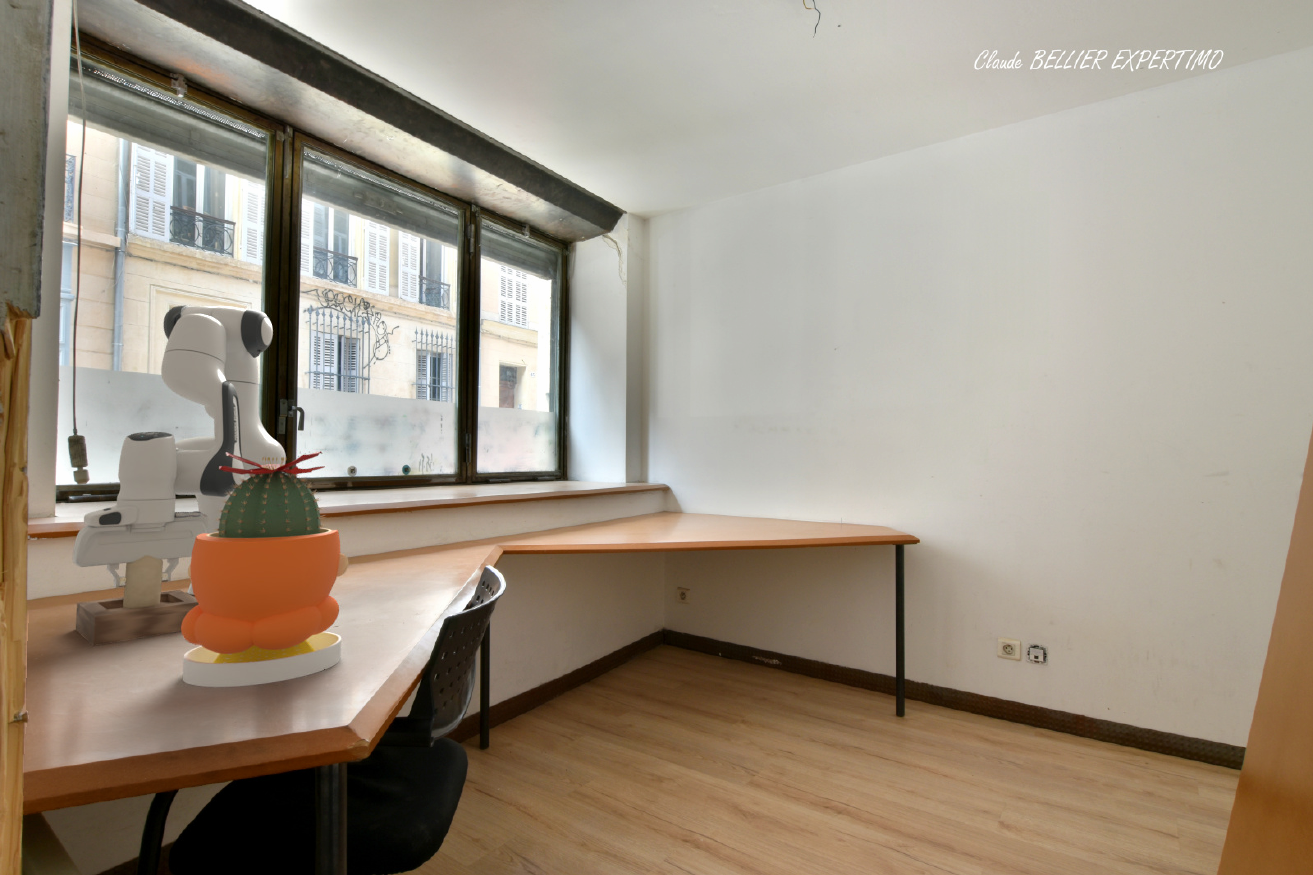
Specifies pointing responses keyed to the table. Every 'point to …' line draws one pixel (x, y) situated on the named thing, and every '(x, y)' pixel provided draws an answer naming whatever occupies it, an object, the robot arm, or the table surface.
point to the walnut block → (132, 618)
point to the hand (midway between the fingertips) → (142, 584)
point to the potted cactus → (264, 584)
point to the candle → (143, 583)
